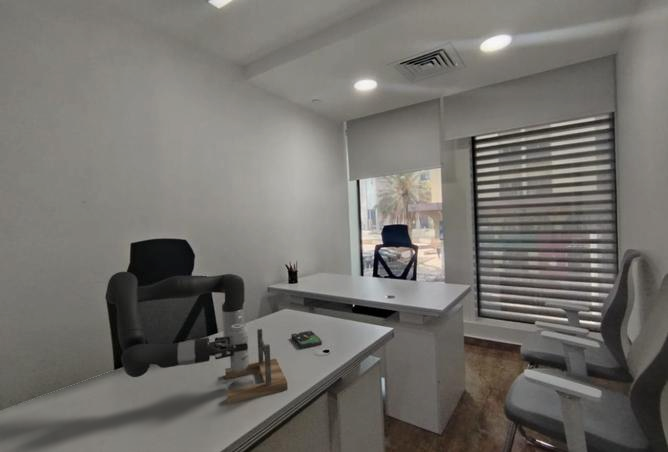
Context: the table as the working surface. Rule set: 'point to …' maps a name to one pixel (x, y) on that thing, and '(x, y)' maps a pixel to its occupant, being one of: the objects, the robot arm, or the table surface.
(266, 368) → the wooden crossbar stand
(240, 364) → the energy drink can
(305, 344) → the disk drive
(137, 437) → the table surface
